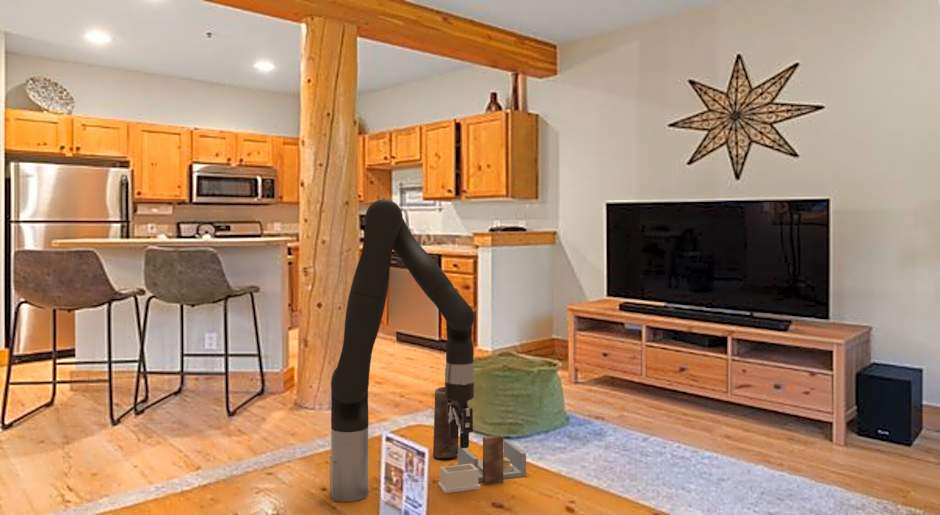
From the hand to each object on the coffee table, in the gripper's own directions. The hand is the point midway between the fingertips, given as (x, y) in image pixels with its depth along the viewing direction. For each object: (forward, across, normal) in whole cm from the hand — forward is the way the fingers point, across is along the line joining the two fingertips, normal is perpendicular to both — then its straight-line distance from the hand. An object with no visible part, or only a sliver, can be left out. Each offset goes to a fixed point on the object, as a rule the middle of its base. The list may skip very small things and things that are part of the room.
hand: (458, 442), depth 166 cm
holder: (+11, 0, 0) cm, 11 cm away
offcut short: (+9, -4, +13) cm, 16 cm away
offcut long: (+10, -4, +12) cm, 16 cm away
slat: (+11, 0, +10) cm, 15 cm away
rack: (+11, -8, +12) cm, 18 cm away
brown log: (+12, -24, +4) cm, 27 cm away
